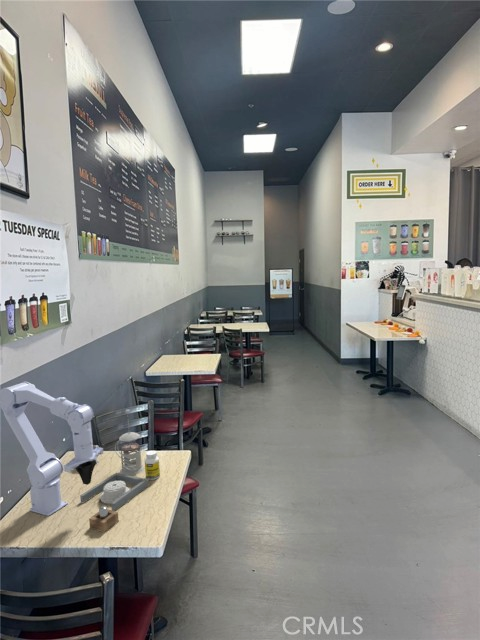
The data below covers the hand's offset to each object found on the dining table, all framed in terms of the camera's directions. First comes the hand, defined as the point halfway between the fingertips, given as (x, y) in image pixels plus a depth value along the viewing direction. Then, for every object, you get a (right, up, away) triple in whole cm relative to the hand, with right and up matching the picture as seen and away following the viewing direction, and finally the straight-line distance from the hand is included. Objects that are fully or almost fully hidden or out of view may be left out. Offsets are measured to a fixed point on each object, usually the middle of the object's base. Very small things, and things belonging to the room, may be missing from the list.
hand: (86, 483), depth 130 cm
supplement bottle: (+17, -7, +23) cm, 29 cm away
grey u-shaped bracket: (+6, -9, +12) cm, 16 cm away
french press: (+6, -7, +30) cm, 32 cm away
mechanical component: (+6, -9, +10) cm, 15 cm away
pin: (+8, -10, -7) cm, 15 cm away
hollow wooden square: (+8, -10, -7) cm, 15 cm away
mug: (-13, -7, +40) cm, 43 cm away
